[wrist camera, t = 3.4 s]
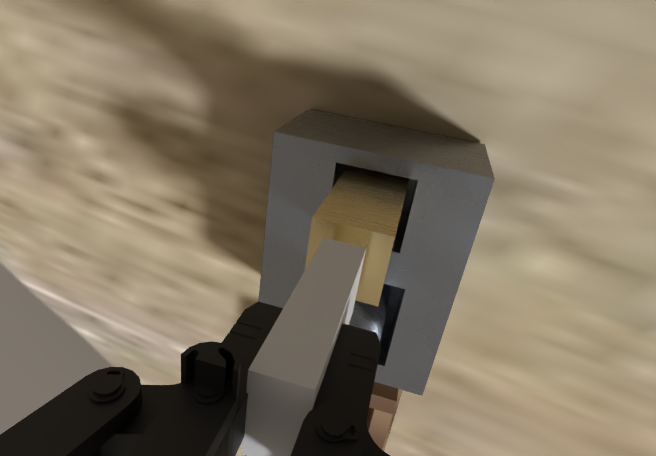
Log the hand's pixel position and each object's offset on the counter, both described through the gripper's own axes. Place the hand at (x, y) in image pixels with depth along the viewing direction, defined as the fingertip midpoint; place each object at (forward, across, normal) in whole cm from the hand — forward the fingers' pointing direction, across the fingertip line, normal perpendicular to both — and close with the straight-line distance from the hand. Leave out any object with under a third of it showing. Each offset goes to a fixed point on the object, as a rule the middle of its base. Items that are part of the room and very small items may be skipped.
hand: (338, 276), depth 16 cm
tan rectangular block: (+8, 0, 0) cm, 8 cm away
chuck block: (+12, 0, -4) cm, 13 cm away
